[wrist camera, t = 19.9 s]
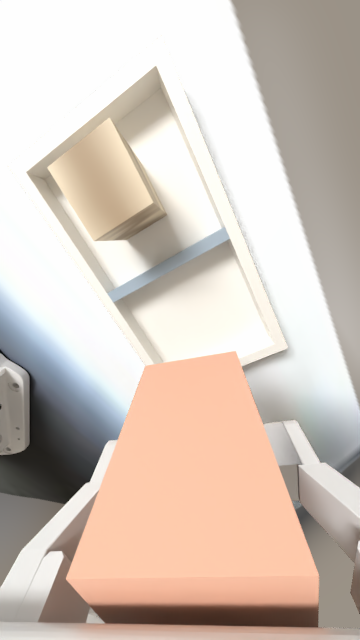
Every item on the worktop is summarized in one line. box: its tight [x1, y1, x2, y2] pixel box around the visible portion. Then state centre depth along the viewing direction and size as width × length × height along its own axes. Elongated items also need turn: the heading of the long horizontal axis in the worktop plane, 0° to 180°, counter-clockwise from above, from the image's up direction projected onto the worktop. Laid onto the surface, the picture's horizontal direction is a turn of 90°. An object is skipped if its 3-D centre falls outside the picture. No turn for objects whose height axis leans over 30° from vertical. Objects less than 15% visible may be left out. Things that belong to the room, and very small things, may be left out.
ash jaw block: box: [47, 117, 167, 241], centre depth 15 cm, size 4×4×7 cm
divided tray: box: [8, 35, 288, 366], centre depth 20 cm, size 25×14×3 cm, turn 28°
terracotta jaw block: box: [66, 351, 319, 627], centre depth 8 cm, size 4×4×7 cm
